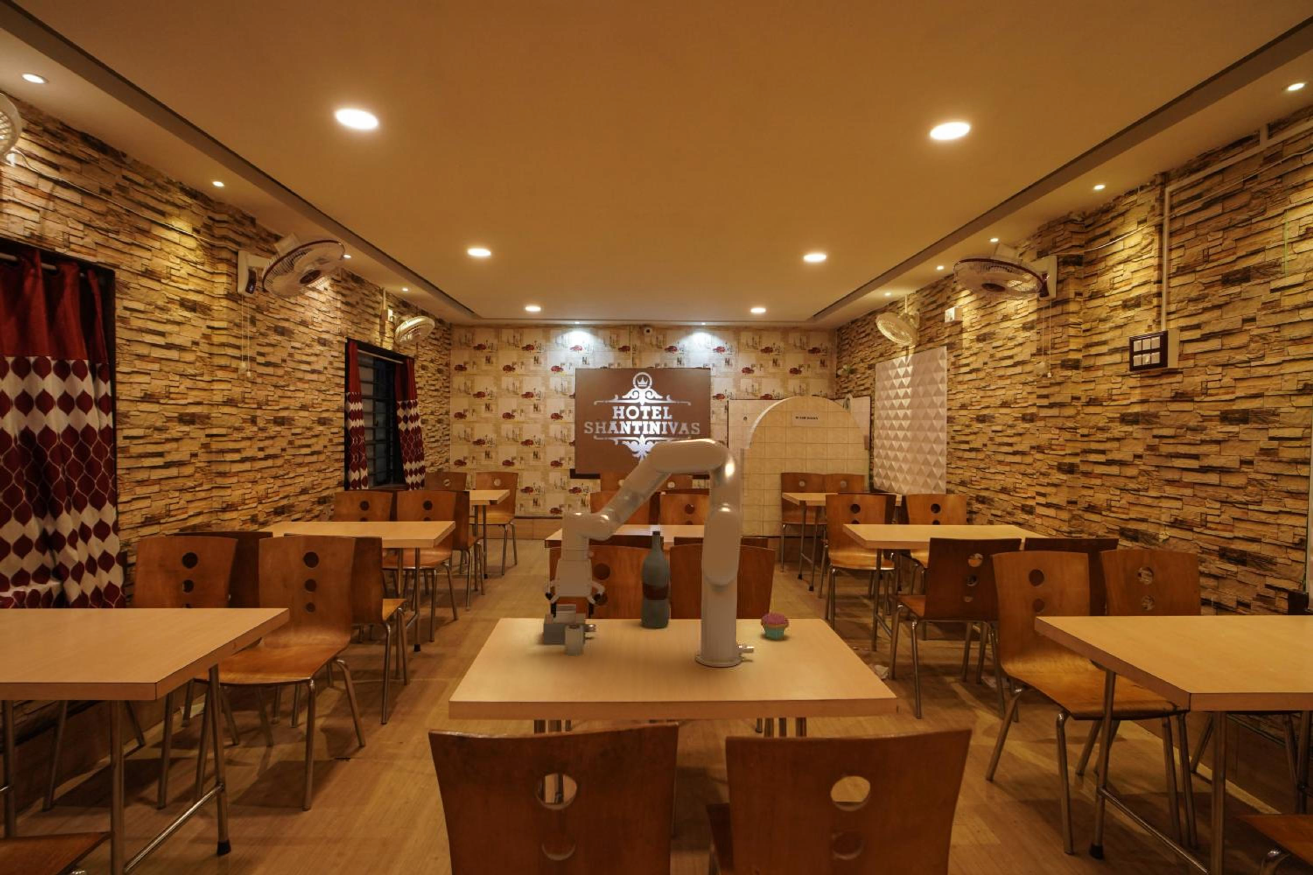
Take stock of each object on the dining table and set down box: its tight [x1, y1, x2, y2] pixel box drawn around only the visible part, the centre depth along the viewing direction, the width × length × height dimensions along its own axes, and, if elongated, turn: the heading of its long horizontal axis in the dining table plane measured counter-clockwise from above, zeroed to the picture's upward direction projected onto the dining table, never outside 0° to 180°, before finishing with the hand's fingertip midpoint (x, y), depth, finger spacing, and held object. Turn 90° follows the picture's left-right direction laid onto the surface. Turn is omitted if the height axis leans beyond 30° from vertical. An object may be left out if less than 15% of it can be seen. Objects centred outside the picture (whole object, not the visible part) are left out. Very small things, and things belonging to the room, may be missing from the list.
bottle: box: [640, 530, 671, 630], centre depth 201 cm, size 9×9×30 cm
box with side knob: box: [542, 603, 597, 646], centre depth 187 cm, size 15×12×9 cm
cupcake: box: [760, 597, 790, 640], centre depth 190 cm, size 9×8×12 cm
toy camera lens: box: [564, 623, 584, 656], centre depth 174 cm, size 5×5×8 cm
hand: (572, 616), depth 174 cm, fingers open, 9 cm apart
